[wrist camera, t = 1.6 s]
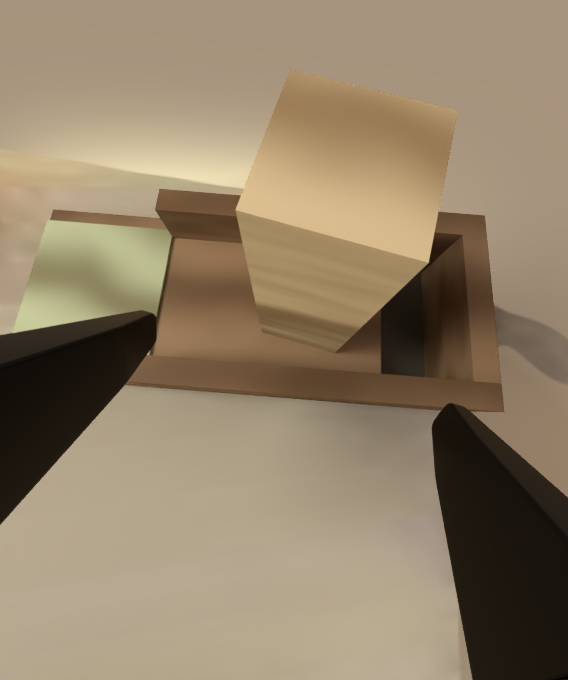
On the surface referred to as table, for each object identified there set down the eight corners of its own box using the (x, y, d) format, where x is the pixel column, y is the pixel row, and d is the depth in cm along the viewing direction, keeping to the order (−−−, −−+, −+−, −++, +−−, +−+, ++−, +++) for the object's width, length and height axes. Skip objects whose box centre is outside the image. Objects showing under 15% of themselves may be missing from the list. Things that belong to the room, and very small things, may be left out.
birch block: (334, 353, 19) (428, 262, 7) (261, 332, 19) (235, 209, 7) (351, 285, 20) (458, 110, 8) (283, 266, 20) (290, 69, 8)
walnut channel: (444, 410, 20) (504, 411, 15) (35, 377, 20) (-52, 367, 15) (437, 259, 23) (484, 215, 18) (77, 230, 23) (16, 177, 18)
